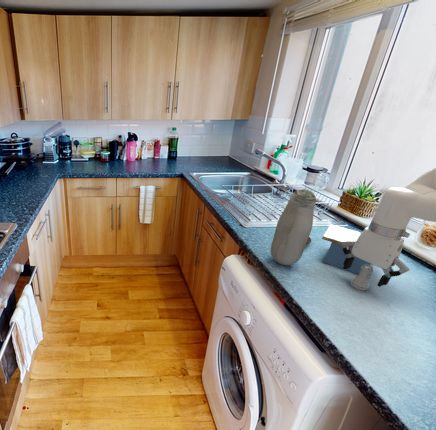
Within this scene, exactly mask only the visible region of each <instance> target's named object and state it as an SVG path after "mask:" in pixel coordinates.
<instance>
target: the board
mask: <svg viewBox="0 0 436 430" xmlns="http://www.w3.org/2000/svg"><path fill="white" fill-rule="evenodd" d="M361 233H362V232H360V231H358V230H354V229H350V228H346V227H342V226H339V225H336V224H332V223H331V224H330V225H329V226H328V228H327V229H326V231H325V232H324V234H323V236H322V237H321V240H323V241H327V242H330V243H332V242H333V243H337V244H340V245H342V242H344V241H357V239H358V238H359V236H360V235H361ZM349 247H350V248H353V246H349Z"/></svg>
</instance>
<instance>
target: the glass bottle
mask: <svg viewBox="0 0 436 430" xmlns="http://www.w3.org/2000/svg"><path fill="white" fill-rule="evenodd" d="M316 203H317V197H316V195H315V193H314V192H313V191H311V190H309V189H304V188H303V189H297V190H295V191H294V192H292V194H291V195H290V197H289V199H288V201H287V203H286V205H285V208H284V210H283V211H282V212H281V214H280V216H279V218H278V220H277V223H276V227H275V230H274V235H273V238H272V242H271V245H270V255H271V258H272V259H273V260H274V261H275V262H276V263H277V264H279V265H283V266H292V265H294V264H296V263H298V261H300V260H301V258H302V256H303V254H304V252H305V249H306V246H307V245H306V243H307V241H308V238H309V237H310V235H311V232H312V229H313V225H314V212H315V208H316Z"/></svg>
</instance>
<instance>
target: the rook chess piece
mask: <svg viewBox="0 0 436 430" xmlns="http://www.w3.org/2000/svg"><path fill="white" fill-rule="evenodd" d="M372 273H374V267H373V265H371V264H370V265H368V266H366V264H363V266H361V270H360V274H357V276H356V277H355V278H352V279H351V281H350V285H351V286H352V287H353V289H356V290H359V291H367V290H368V289H369V286H370V284H369V277H370V276H372Z"/></svg>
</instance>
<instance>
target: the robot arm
mask: <svg viewBox="0 0 436 430" xmlns="http://www.w3.org/2000/svg"><path fill="white" fill-rule="evenodd" d="M413 218H415V219H419V220H423V221H428V222H431V223H436V167H434V168H432V169H429V170H427V171H425V172H424V173H422V174H421V175H420V176H418V177H417V178H415V179H414V180H412V181H411V182H410V183H408V184H407V185H406V186H405V187H395V186H394V187H389V188H387V189H385V191H384V193H383V194H382V197H381V199H380V202H379V203H378V205H377V208H376V210H375V211H374V214H373V217H372V219H371V221H370V223H369V226H367V227H365V228H363V230H362V232H361V235H360V236H359V238H358V239H357V241H344V242H342V247H343V252H344V254H345V257H346V259H345V261H344V263H343V265H344V267H343V268H342V270H343V269H344V270H346V269H348V268H350V267H351V265H352V263H353V261H354V256H356V257H358V258H360V259H362V260H364V261H366V262H368V263H371V264H370V265H372V266H375V267H377V268H380V269H382V272H383V273H384V274H383V275H381V277H380V279H379V281H378V282H377V285H376V286H377V287H379V288H381V287H384V286H387V285H388V284H389V282H390V281H391V279H392V277H399V276H401V275H403V274H406V273H407V272H410V268H409V267H408V266H407V265H406V264H405V262H403V261H402V260H401V259H400V256H401V254H402V250H403V247H404V243H405V238H409V237H410V236H411V233H409V232H407V227H408V225H409V223H410V221H411V219H413ZM349 246H353V248H352V251H350V249H349ZM394 266H397V267H398V270H394V268H393V267H394Z"/></svg>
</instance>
